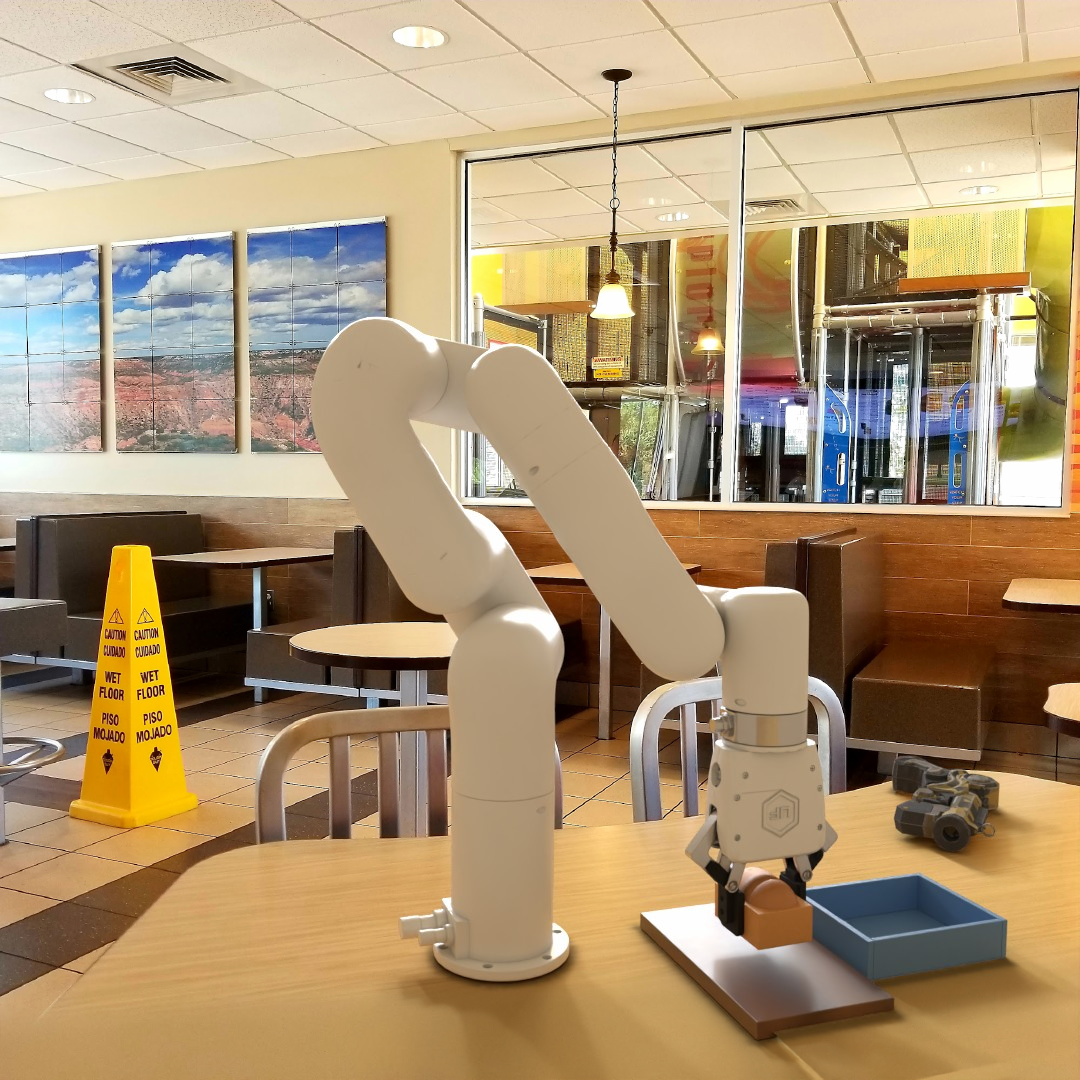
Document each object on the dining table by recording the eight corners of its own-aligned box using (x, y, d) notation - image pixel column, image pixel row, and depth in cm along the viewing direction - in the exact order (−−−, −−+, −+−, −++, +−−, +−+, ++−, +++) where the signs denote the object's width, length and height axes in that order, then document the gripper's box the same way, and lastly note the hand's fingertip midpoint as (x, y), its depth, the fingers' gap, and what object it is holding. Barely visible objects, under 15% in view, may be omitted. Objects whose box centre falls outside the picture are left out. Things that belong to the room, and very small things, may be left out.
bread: (758, 950, 92) (759, 893, 92) (714, 915, 99) (714, 862, 99) (812, 941, 94) (813, 885, 93) (765, 907, 101) (765, 855, 101)
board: (756, 1040, 84) (757, 1022, 84) (639, 927, 105) (640, 912, 105) (894, 1015, 89) (895, 997, 89) (756, 911, 109) (756, 896, 109)
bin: (867, 986, 94) (868, 941, 93) (790, 929, 105) (791, 889, 105) (1006, 962, 99) (1007, 919, 98) (918, 910, 110) (919, 872, 110)
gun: (861, 799, 132) (993, 821, 125) (897, 752, 154) (1010, 768, 148) (860, 837, 132) (991, 860, 125) (895, 784, 155) (1008, 801, 148)
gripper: (697, 745, 89) (696, 957, 90) (871, 728, 95) (867, 928, 96) (658, 725, 96) (657, 922, 97) (822, 710, 102) (819, 897, 103)
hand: (762, 923), depth 97 cm, fingers closed on bread, 5 cm apart
